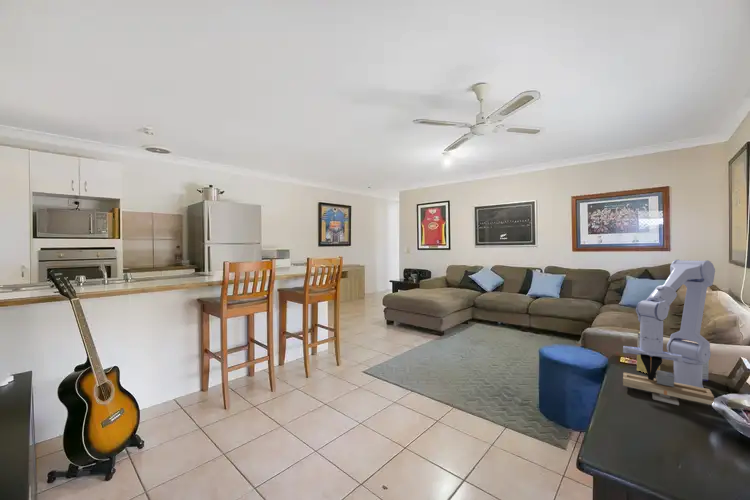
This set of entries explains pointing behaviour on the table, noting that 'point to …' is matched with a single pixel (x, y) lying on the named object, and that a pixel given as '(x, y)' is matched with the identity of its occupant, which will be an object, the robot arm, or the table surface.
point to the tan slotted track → (668, 390)
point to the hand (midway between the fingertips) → (650, 378)
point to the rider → (665, 378)
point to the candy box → (639, 362)
